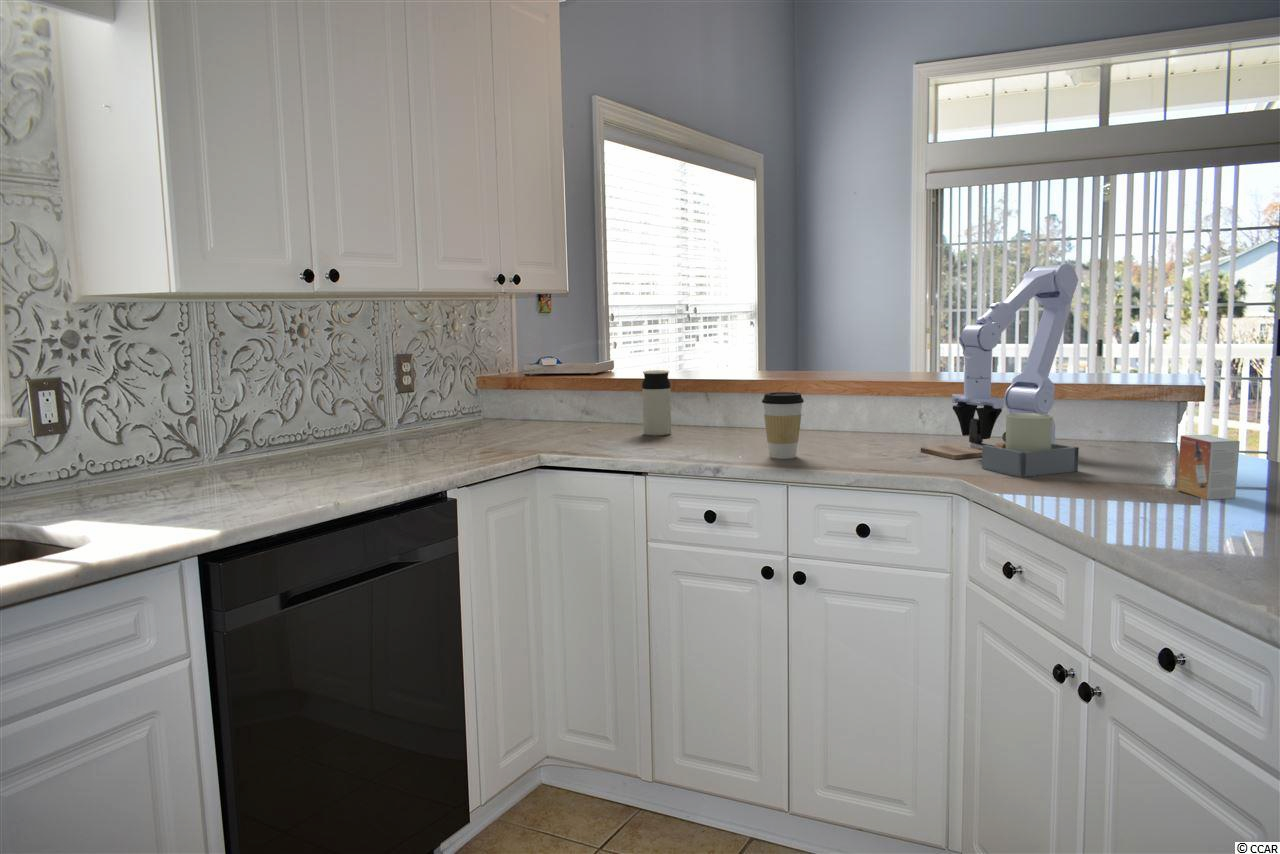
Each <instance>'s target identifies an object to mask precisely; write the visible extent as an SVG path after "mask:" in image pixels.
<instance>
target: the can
mask: <svg viewBox="0 0 1280 854" xmlns="http://www.w3.org/2000/svg"><path fill="white" fill-rule="evenodd" d="M1052 420H1054V416H1053V415H1052V414H1048V415H1046V414H1039V413H1038V414H1036V413H1014V414H1010V413H1007V414H1006V415H1005V421H1006V422H1005V432H1006V442H1005V443H1006V449H1010V450H1015V451H1020V452H1029V451H1039V450H1049V449H1051V437H1052Z"/></svg>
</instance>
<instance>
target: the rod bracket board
mask: <svg viewBox="0 0 1280 854" xmlns="http://www.w3.org/2000/svg"><path fill="white" fill-rule="evenodd" d="M920 452H921V453H923V454H924V453H925V454H928V455H934V456H937V457H942V458H947V459H951V460H960V459H961V460H962V459H973V458H982V450H979V449H974V448H971V447H970V446H969V447H968V446H963V445H958V444H947V445H946V444H945V445H936V446H935V445H934V446H927V447H920Z"/></svg>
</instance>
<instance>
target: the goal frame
mask: <svg viewBox="0 0 1280 854" xmlns="http://www.w3.org/2000/svg"><path fill="white" fill-rule="evenodd" d="M1079 448H1080V447H1078V446H1073V445H1072V446H1071V445H1067V444H1062V443H1061V444H1060V443H1051V449H1049V450H1039V451H1029V452H1020V451H1015V450H1010V449H1004V448H999V447H994V446H988V445H983V449H982V457H981V458H982V459H981V460H982V461H981V469H982V468H983V470H987V469H988V471H991V470H992V472H996V473H999V474H1000V473H1001V474H1004V473H1005V475H1010V476H1013V475H1014V476H1015V477H1019V478H1026V477H1027V476H1029V477H1037V475H1038V476H1046V475H1054V474H1061V473H1062V474H1064V473H1071V472H1078V471H1079V470H1078V469H1079V454H1080V453H1079V452H1080V451H1079V450H1080V449H1079ZM1027 478H1028V477H1027Z"/></svg>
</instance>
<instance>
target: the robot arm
mask: <svg viewBox="0 0 1280 854" xmlns="http://www.w3.org/2000/svg"><path fill="white" fill-rule="evenodd" d="M1078 283H1079V278H1078V275H1077V273H1076V270H1075V267H1073V266H1072V265H1071V264H1070V263H1063V264H1054V265H1033V266H1031V267H1030V268H1029V269H1028V270H1027V271H1026V272H1024V273H1023V276H1022V281H1021V282H1019V284H1018V285H1017V286H1016V287H1015V289H1014V290H1013V291H1012V292H1011V293H1010V294H1009V295H1008V296H1007V298H1005V300H1004V301H997V302H995V303H994V302H993V303H991V304H990V305H989V309H988V310H986V311H985V312H984V313H983V314H982V315H981V316H979V317H978V318H977V319H976V321H975V323H974V324H973V323H972V324H971V323H970V324H967V325H966V326H965V328H963V330H961V333H960V336H959V337H958V341H959V344H960V346H961V348H962V355H963V357H964V373H963V394H962V393H957V394H956V393H955V394H954V393H953V394H952V395H951V403H952V404H956V405H952V410H953V411H954V413H955V416H956V417H957V419H958V423H959V427H960V430H961V435H962V436H964V437H966V436H967V437H969V422H970V419H973V418H975V413H977V416H978V419H979V423H980V437H981V439H983V440H987V439H988V440H989V439H991V436H992V434H993V429H994V427H995V424H996V422H997V419H998V417H999V416H1000V415H1001V413H1002V411H1003V409H1004V408H1005V407H1006V408H1007V410H1008V414H1014V413H1036V414H1038V413H1039V414H1046V415H1049V412H1050V411H1051V410H1052V408H1053V407H1054V403H1055V402H1054V401H1055V398H1054V394H1055V390H1056V386H1055V383H1054V382H1053V381H1052V380H1051V379H1050V378H1049V376H1050V372H1051V369H1052V366H1053V363H1054V361H1055V357H1056V354H1057V351H1058V348H1059V345H1060V342H1061V340H1062V336H1063V333H1064V329H1065V326H1066V323H1067V320H1068V319H1069V314H1070V311H1071V308H1072V302H1073V299H1074V296H1075V292H1076V289H1077V285H1078ZM1033 298H1034V299H1035V301H1037V302H1038V304H1040V305H1042V307H1043V311H1042V315H1041V318H1040V321H1039V324H1038V326H1037V330H1036V332H1035V336H1034V339H1033V342H1032V345H1031V348H1030V351H1029V354H1028V358H1027V361H1026V362H1025V365H1024V370H1023V371H1022V372H1021V373H1019V374H1018V375H1017V376H1014V377H1013V378H1012V381H1011V383H1010V385H1009V387H1007V389H1006V391H1005V393H1004V397H1003V398H998V397H993V396H991V395H992V394H991V393H992V368H993V367H992V363H993V362H992V361H993V349H994V348H996V347H997V345H998V343H999V341H1000V337H1001V336H1002V333H1003V332H1004V331H1005V330H1006V329H1007V328H1009V326H1010V325H1011V324H1013V322H1014V321H1016V320H1015V319H1016V316H1017V315H1016V312H1018V311H1019V310H1020V309H1021V308H1022V307H1023V306H1025V304H1027V303H1028V302H1030V301H1031V299H1033ZM978 406H979V407H978ZM1004 406H1005V407H1004ZM1055 441H1056V422H1055V419H1053V420H1052V437H1051V443H1055Z"/></svg>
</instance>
